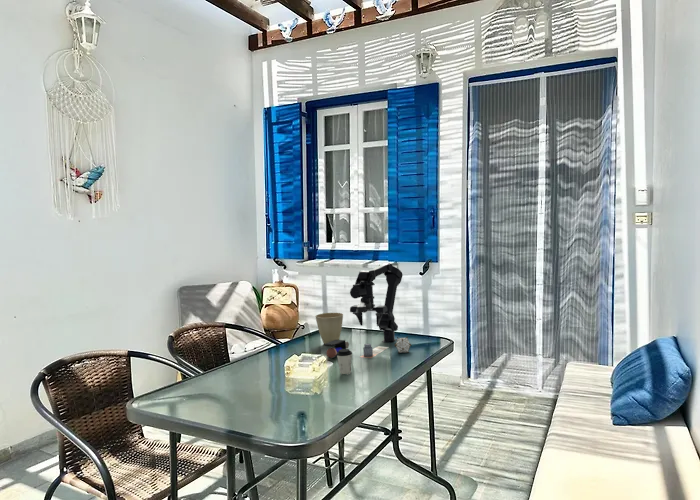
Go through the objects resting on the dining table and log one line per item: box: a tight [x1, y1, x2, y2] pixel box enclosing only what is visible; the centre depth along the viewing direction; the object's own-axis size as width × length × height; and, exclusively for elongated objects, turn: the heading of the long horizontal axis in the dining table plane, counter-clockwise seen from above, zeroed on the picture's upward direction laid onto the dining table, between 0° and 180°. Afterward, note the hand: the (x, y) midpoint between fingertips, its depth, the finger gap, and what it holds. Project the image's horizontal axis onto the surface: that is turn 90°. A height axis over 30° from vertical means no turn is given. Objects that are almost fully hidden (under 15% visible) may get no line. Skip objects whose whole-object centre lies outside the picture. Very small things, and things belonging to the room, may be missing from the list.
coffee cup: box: [336, 348, 353, 375], centre depth 216 cm, size 7×7×10 cm
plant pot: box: [315, 312, 344, 344], centre depth 270 cm, size 15×15×16 cm
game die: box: [394, 336, 412, 354], centre depth 242 cm, size 9×8×10 cm
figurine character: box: [322, 339, 350, 359], centre depth 247 cm, size 7×8×15 cm
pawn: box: [362, 343, 374, 357], centre depth 240 cm, size 4×4×6 cm
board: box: [359, 345, 389, 359], centre depth 246 cm, size 22×9×1 cm, turn 151°
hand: (369, 325), depth 253 cm, fingers open, 9 cm apart
